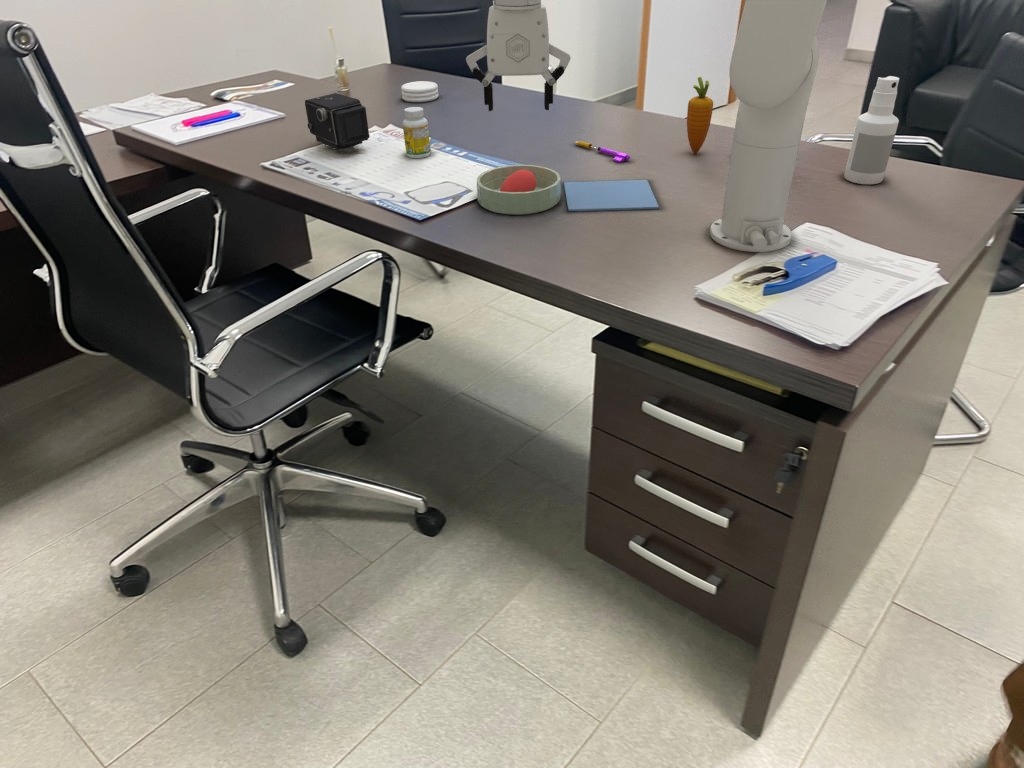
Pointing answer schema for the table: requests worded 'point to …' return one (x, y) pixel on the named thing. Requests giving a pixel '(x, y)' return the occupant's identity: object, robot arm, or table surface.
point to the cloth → (609, 195)
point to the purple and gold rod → (606, 152)
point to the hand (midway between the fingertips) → (518, 108)
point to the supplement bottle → (416, 133)
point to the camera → (337, 121)
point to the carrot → (699, 116)
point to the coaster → (419, 91)
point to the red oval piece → (519, 182)
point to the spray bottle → (874, 135)
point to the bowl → (518, 202)
